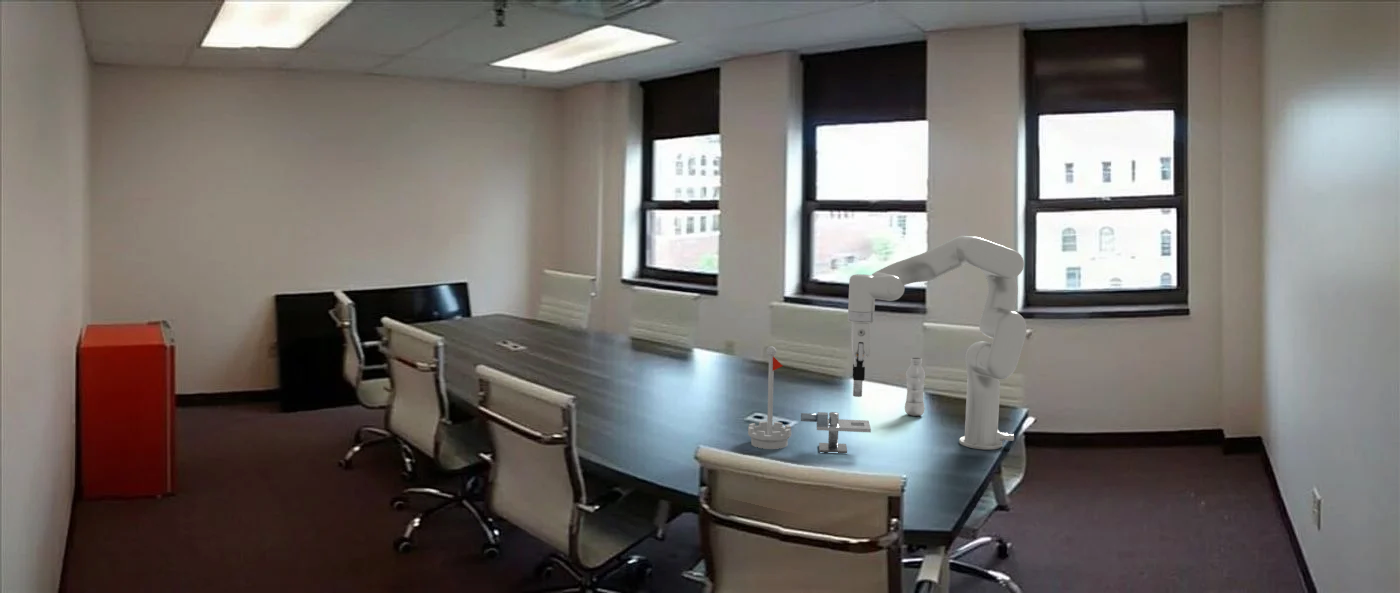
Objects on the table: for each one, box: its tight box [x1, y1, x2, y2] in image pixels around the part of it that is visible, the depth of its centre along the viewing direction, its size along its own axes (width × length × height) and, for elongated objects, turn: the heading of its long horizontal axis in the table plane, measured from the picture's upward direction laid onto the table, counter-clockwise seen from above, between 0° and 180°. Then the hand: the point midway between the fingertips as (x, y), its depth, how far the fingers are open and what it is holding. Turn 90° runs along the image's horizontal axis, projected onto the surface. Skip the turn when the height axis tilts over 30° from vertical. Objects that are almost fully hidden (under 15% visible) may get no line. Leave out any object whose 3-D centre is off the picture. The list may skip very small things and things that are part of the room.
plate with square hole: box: [800, 411, 872, 454], centre depth 264 cm, size 20×10×11 cm, turn 83°
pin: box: [852, 354, 863, 398], centre depth 261 cm, size 3×3×14 cm
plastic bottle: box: [904, 357, 926, 417], centre depth 307 cm, size 6×7×20 cm
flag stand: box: [747, 346, 792, 450], centre depth 268 cm, size 13×13×30 cm
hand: (858, 378), depth 262 cm, fingers closed on pin, 2 cm apart
